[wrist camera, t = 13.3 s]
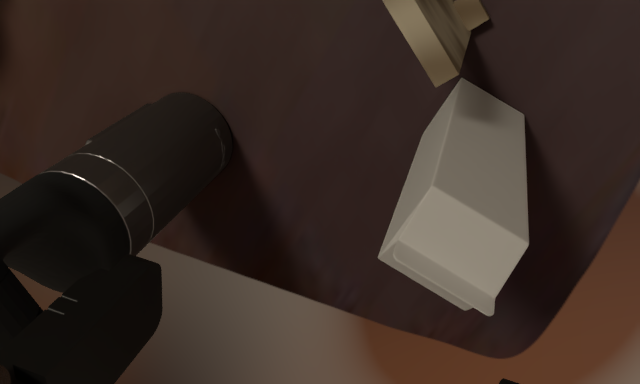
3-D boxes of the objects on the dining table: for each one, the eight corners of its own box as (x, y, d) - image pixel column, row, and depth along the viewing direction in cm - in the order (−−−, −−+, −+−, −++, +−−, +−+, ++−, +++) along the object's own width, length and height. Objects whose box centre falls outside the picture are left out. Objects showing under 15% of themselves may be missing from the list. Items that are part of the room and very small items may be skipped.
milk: (481, 168, 47) (459, 353, 29) (421, 132, 47) (362, 294, 29) (526, 112, 44) (533, 283, 25) (461, 74, 44) (422, 217, 25)
